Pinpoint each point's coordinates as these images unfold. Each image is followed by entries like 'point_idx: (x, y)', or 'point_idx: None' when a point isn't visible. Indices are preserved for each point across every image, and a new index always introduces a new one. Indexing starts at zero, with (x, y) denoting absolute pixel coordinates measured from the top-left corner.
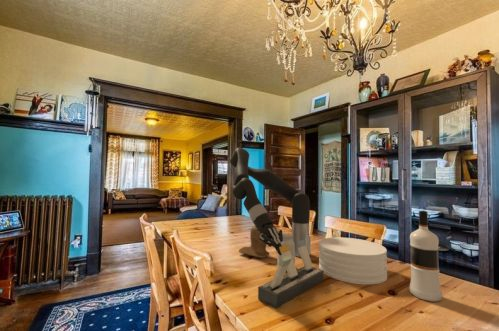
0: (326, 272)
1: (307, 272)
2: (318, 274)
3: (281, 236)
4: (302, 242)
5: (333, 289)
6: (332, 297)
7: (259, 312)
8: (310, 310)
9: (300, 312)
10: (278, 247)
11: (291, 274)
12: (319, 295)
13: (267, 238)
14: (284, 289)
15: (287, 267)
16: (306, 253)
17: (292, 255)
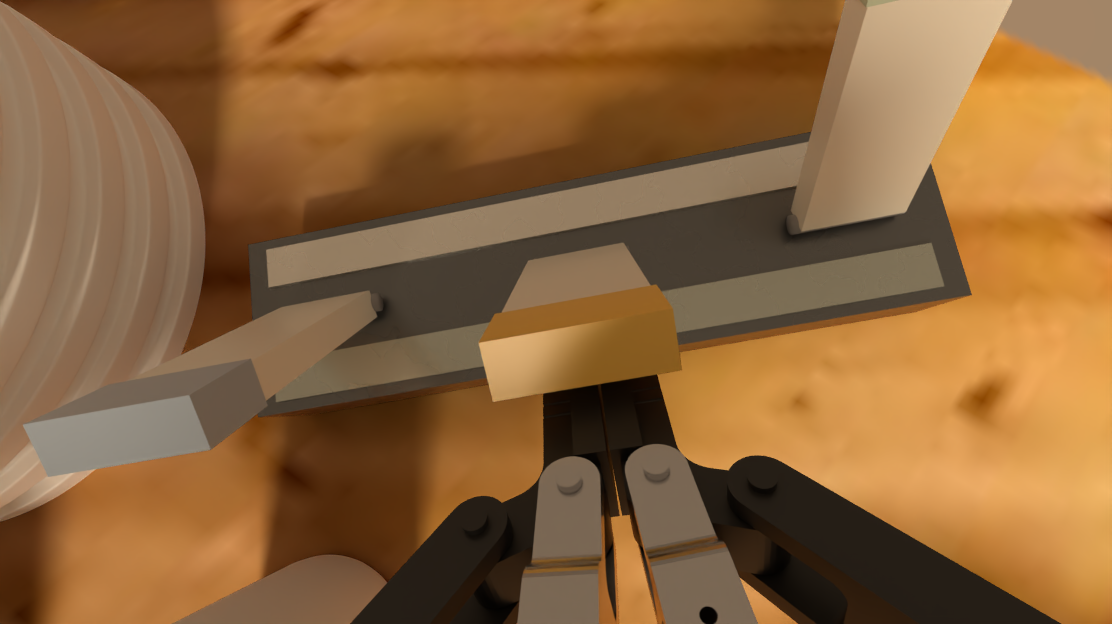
0: (176, 322)
1: (390, 290)
2: (337, 230)
3: (404, 603)
4: (117, 395)
5: (361, 146)
6: (459, 82)
7: (999, 175)
8: (694, 46)
9: (762, 58)
10: (651, 416)
11: (614, 248)
12: (505, 137)
13: (937, 577)
14: (802, 144)
15: (837, 34)
16: (226, 343)
17: (240, 600)
